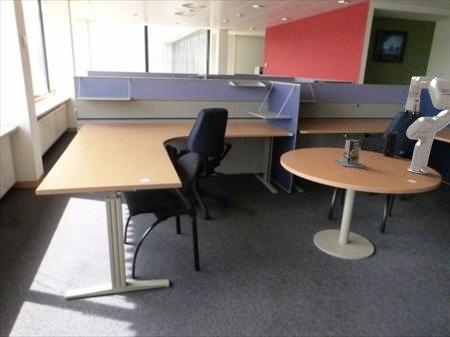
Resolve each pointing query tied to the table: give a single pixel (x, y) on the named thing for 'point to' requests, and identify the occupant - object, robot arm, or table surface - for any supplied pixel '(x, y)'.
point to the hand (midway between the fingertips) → (409, 118)
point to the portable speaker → (390, 143)
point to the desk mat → (350, 164)
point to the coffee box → (352, 151)
